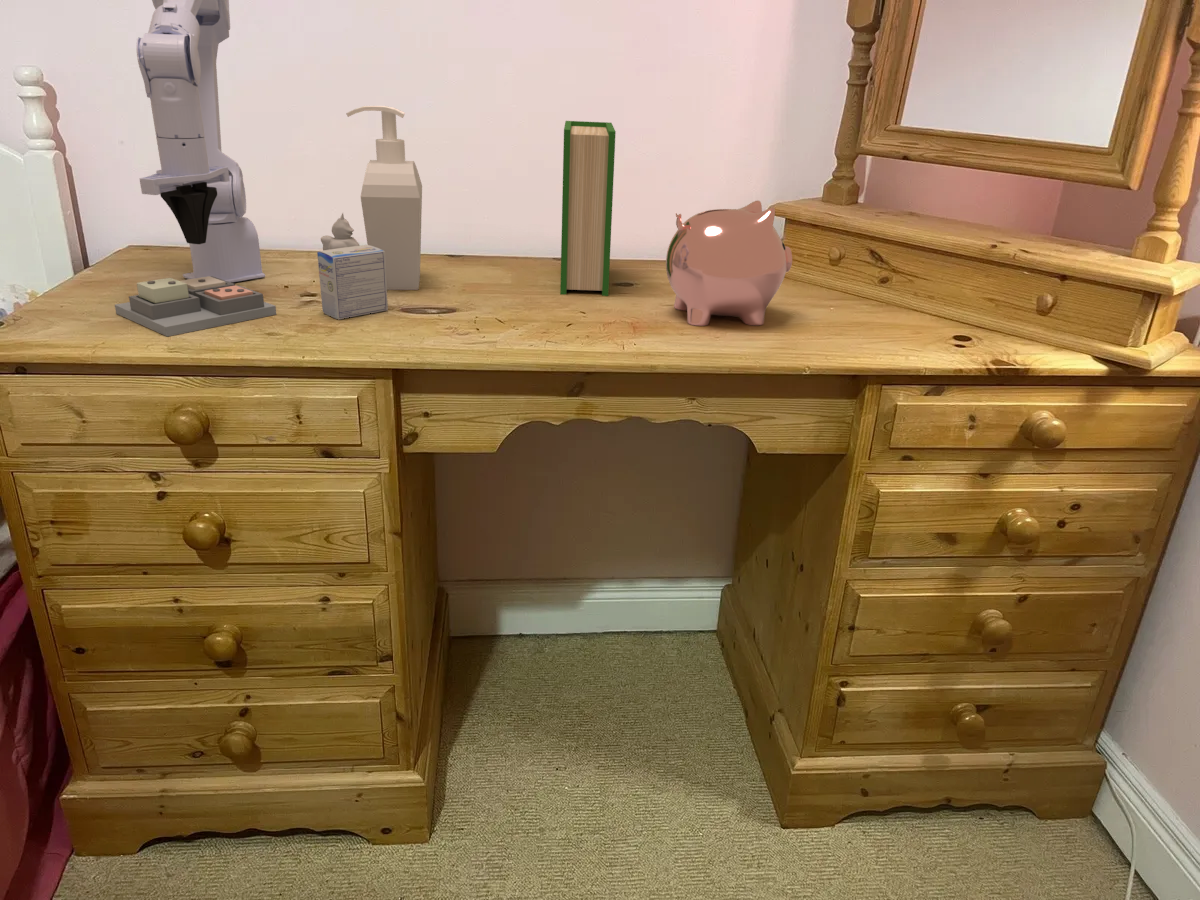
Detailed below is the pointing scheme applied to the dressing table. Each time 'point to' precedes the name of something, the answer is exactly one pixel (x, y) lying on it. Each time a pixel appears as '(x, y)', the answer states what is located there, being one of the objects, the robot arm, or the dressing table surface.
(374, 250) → the medicine box
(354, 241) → the rubber duck
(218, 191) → the robot arm
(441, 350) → the dressing table surface
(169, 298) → the tile sage
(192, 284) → the tile ivory
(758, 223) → the piggy bank
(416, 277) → the soap bottle
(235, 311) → the stacking puzzle board
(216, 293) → the tile coral
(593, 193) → the hardback book
